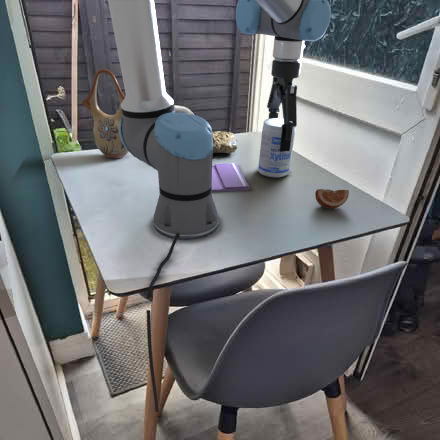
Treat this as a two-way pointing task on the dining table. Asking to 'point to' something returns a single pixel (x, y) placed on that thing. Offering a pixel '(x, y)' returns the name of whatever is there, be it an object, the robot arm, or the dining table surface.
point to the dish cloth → (228, 178)
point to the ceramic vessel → (106, 121)
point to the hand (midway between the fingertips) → (277, 143)
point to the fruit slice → (331, 197)
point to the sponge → (224, 142)
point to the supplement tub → (274, 150)
